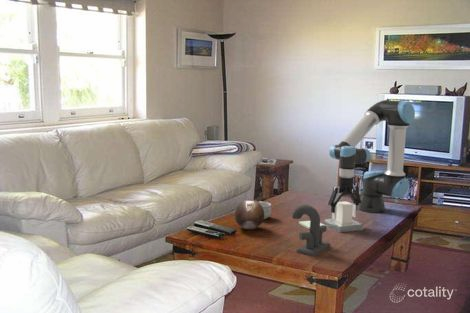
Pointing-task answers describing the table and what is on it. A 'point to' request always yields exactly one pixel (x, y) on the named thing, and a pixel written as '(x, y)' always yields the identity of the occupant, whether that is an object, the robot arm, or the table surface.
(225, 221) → the table surface
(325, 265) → the table surface
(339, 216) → the peg
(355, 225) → the socket plate
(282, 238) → the table surface
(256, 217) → the bronze metal ball
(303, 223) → the pad
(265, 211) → the teacup
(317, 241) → the faucet
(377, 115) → the robot arm
